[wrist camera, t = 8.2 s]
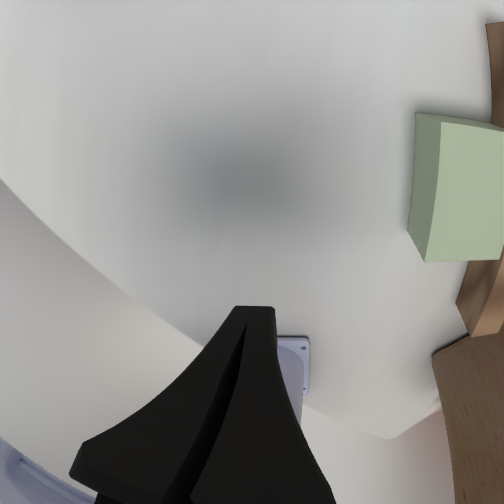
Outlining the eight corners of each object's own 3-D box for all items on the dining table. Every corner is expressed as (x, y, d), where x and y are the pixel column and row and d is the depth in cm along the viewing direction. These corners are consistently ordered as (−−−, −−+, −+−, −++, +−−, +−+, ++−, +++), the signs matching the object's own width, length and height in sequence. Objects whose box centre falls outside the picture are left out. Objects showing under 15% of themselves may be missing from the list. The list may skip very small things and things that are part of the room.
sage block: (474, 229, 17) (499, 259, 14) (406, 229, 18) (424, 262, 15) (489, 122, 13) (523, 137, 10) (413, 111, 14) (441, 121, 11)
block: (427, 352, 24) (454, 546, 8) (510, 305, 20) (574, 487, 3) (445, 389, 28) (463, 536, 11) (512, 353, 23) (551, 495, 6)
